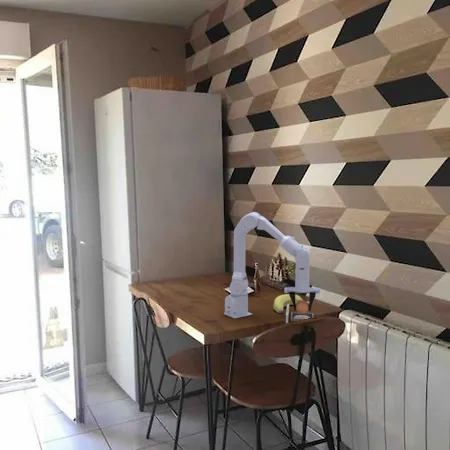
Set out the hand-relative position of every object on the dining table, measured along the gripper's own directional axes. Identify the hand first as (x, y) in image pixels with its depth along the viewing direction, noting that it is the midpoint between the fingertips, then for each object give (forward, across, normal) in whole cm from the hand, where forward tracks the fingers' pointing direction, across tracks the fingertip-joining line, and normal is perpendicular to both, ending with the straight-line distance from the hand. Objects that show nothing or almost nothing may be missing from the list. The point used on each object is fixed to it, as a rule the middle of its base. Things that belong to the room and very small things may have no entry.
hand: (302, 310), depth 201 cm
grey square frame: (+3, 0, 0) cm, 3 cm away
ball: (-1, 0, 0) cm, 1 cm away
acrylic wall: (+3, -6, 0) cm, 7 cm away
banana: (+4, -4, +16) cm, 17 cm away
